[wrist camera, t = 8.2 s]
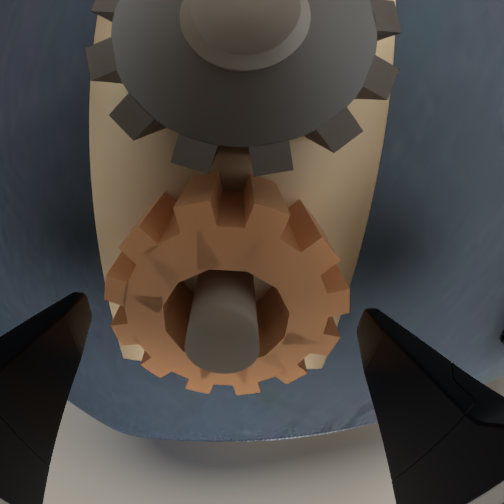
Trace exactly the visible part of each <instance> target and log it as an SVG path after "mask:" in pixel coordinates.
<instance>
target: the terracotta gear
mask: <svg viewBox="0 0 504 504" xmlns="http://www.w3.org/2000/svg"><path fill="white" fill-rule="evenodd" d="M119 249H120V250H121V251H122V252H121V253H120V255H119V256H118V258H117V259H116V261H115V262H114V264H113V265H112V267H111V268H110V270H109V272H108V273H107V275H106V281H105V293H104V300H106V301H109V302H112V303H115V304H118V305H120V306H119V308H118V310H117V312H116V314H115V317H114V319H113V321H112V323H111V325H110V326H111V328H112V329H113V331H114V333H115V335H116V336H117V338H118V340H119V342H120V343H121V345H122V346H125V345H138V344H139V345H140V346H141V347H142V348H143V349H144V350H145V351H144V354H143V358H142V361H141V366H143V367H144V368H146V369H147V370H149V371H150V372H152V373H153V374H155V375H156V376H158V377H159V378H161V377H163V376H165V375H166V374H168V373H170V372H174V373H176V374H179V375H181V376H183V377H186V378H187V380H186V388H185V389H189V390H193V391H197V392H202V393H207V394H209V393H210V391H211V389H212V387H213V385H214V384H215V385H233V387H234V390H235V393H236V395H244V394H252V393H260V392H261V391H260V381H263V380H266V379H269V378H273V377H277V378H278V379H280V380H281V381H283V382H284V383H285V384H288V383H290V382H292V381H294V380H296V379H297V378H299V377H301V376H303V375H305V374H307V369H306V365H305V360H304V358H305V357H306V356H307V355H309V354H310V353H313V354H318V355H324V356H328V355H329V353H330V352H331V350H332V349H333V348H334V346H335V345H336V343H337V342H338V341H339V339H340V338H341V337H340V334H339V332H338V329H337V326H336V324H335V321H334V319H333V316H337V315H342V314H346V313H349V308H350V288H349V286H348V284H347V283H346V281H345V279H344V277H343V275H342V273H341V271H340V269H339V268H338V266H337V263H338V262H339V261H340V259H339V257H338V256H337V254H336V252H335V251H334V249H333V247H332V245H331V244H330V242H329V240H328V239H327V237H326V235H325V234H324V232H323V230H322V229H321V227H320V226H319V224H318V222H317V221H316V219H315V218H314V216H313V215H312V214H311V212H310V211H309V210H308V209H307V207H306V206H305V205H304V204H303V202H302V201H301V200H299V201H297V202H296V203H295V204H293V205H292V206H291V207H289V208H287V206H286V204H285V201H284V199H283V197H282V195H281V193H280V190H279V188H278V186H277V184H276V182H273V181H270V180H268V179H265V178H262V177H259V176H256V177H254V175H253V174H250V175H249V178H248V180H247V183H246V186H245V188H244V191H243V192H237V191H223V190H222V186H221V181H220V176H219V172H213V173H209V174H204V175H199V176H195V177H191V179H190V181H189V182H188V184H187V185H186V187H185V189H184V190H183V192H182V194H181V195H180V197H179V199H178V200H177V202H176V201H175V200H174V199H173V198H172V197H171V196H170V195H169V194H168V193H167V192H166V191H165V192H164V193H163V194H162V195H161V196H160V197H159V198H158V199H157V200H156V201H155V202H154V203H153V204H152V205H151V206H150V207H149V208H148V209H147V210H146V212H145V213H144V214H143V215H142V217H141V218H140V219H139V221H138V222H137V223H136V225H135V226H134V227H133V229H132V230H131V231H130V233H129V234H128V235H127V237H126V238H125V240H124V241H123V242H122V244H121V245H120V246H119ZM209 269H211V270H228V271H247V272H249V273H250V274H252V275H254V276H256V277H258V278H259V279H261V280H263V281H265V282H266V283H268V284H270V285H272V287H271V288H270V289H269V290H268V291H267V292H266V293H265V295H264V296H263V297H262V298H261V299H260V300H258V301H256V312H257V324H258V335H259V347H260V351H259V355H258V358H257V359H256V361H255V362H254V363H253V364H252V365H251V366H249V367H248V368H246V369H244V370H242V371H239V372H235V373H228V374H220V373H213V372H209V371H206V370H203V369H201V368H199V367H198V366H196V365H195V364H194V363H192V362H191V361H190V359H189V358H188V356H187V355H186V352H185V340H186V334H187V329H188V323H189V318H190V313H191V307H192V302H193V297H194V296H193V295H192V294H191V292H190V291H189V289H188V288H187V287H186V285H185V284H184V282H183V281H184V280H186V279H188V278H191V277H193V276H195V275H198V274H200V273H202V272H204V271H207V270H209Z"/></svg>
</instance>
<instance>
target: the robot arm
mask: <svg viewBox="0 0 504 504" xmlns="http://www.w3.org/2000/svg"><path fill="white" fill-rule="evenodd" d="M91 319H92V314H91V310H90V306H89V302H88V298H87V296H86V294H84V293H79V292H74V293H72V294H70V295H68V296H67V297H65V298H63V299H62V300H60V301H58V302H56V303H55V304H53V305H51V306H50V307H48V308H46V309H45V310H43V311H41V312H40V313H38V314H36V315H35V316H33V317H31V318H30V319H28V320H27V321H25V322H23V323H22V324H20V325H18V326H17V327H15V328H14V329H12V330H10V331H9V332H7V333H6V334H4V335H3V336H1V337H0V504H43V498H44V492H45V487H46V481H47V476H48V472H49V465H50V462H51V457H52V453H53V449H54V444H55V441H56V437H57V433H58V429H59V426H60V422H61V419H62V415H63V412H64V408H65V405H66V402H67V399H68V396H69V392H70V389H71V386H72V383H73V380H74V377H75V375H76V372H77V369H78V366H79V363H80V360H81V357H82V353H83V350H84V346H85V342H86V338H87V334H88V330H89V327H90V323H91ZM357 337H358V342H359V347H360V352H361V358H362V363H363V369H364V373H365V377H366V381H367V384H368V387H369V391H370V394H371V398H372V402H373V405H374V409H375V413H376V416H377V420H378V424H379V428H380V432H381V436H382V440H383V444H384V448H385V452H386V456H387V461H388V465H389V470H390V474H391V479H392V484H393V489H394V494H395V499H396V504H504V397H503V396H501V395H500V394H498V393H496V392H495V391H493V390H492V389H490V388H489V387H487V386H485V385H484V384H482V383H481V382H479V381H478V380H476V379H475V378H473V377H471V376H470V375H469V374H467V373H466V372H464V371H463V370H462V369H460V368H459V367H457V366H456V365H455V364H453V363H451V361H449V360H448V359H447V358H445V357H444V356H442V355H441V354H440V353H438V352H437V351H436V350H434V349H433V348H431V347H430V346H429V345H427V344H426V343H425V342H423V341H422V340H420V339H419V338H418V337H416V336H415V335H413V334H412V333H411V332H409V331H408V330H406V329H405V328H404V327H402V326H401V325H399V324H398V323H397V322H395V321H394V320H392V319H391V318H390V317H388V316H387V315H385V314H384V313H382V312H381V311H380V310H378V309H376V308H367V309H365V310H364V312H363V314H362V317H361V319H360V322H359V325H358V328H357ZM500 341H501V342H502V343H503V344H504V334H503V336H502V338H501V340H500Z"/></svg>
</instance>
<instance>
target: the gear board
mask: <svg viewBox="0 0 504 504" xmlns="http://www.w3.org/2000/svg"><path fill="white" fill-rule="evenodd" d="M91 12H93V13H95V14H97V15H98V16H97V23H96V30H95V37H94V44H93V45H91V46H89V47H87V48H85V49H86V55H87V62H88V67H89V73H90V79H91V80H90V102H89V146H90V169H91V184H92V196H93V206H94V216H95V224H96V232H97V239H98V246H99V252H100V258H101V264H102V270H103V275H104V280H105V281H106V275H107V273H108V272H109V270H110V268H111V267H112V265H113V264H114V262H115V261H116V259H117V258H118V256H119V255H120V253H121V252H122V251H121V250H120V249H119V246H120V245H121V244H122V242H123V241H124V240H125V238H126V237H127V235H128V234H129V233H130V231H131V230H132V229H133V227H134V226H135V225H136V223H137V222H138V221H139V219H140V218H141V217H142V215H143V214H144V213H145V212H146V210H147V209H148V208H149V207H150V206H151V205H152V204H153V203H154V202H155V201H156V200H157V199H158V198H159V197H160V196H161V195H162V194H163V193H164V192H165V191H166V192H167V193H168V194H169V195H170V196H171V197H172V198H173V199H174V200H175V201H176V202H177V200H178V199H179V197H180V195H181V194H182V192H183V190H184V189H185V187H186V185H187V184H188V182H189V181H190V179H191V177H195V176H199V175H204V174H209V173H213V172H219V176H220V181H221V186H222V190H223V191H237V192H243V191H244V188H245V186H246V183H247V180H248V178H249V175H250V174H253V175H254V177H256V176H259V177H262V178H265V179H268V180H270V181H273V182H276V184H277V186H278V188H279V190H280V193H281V195H282V197H283V199H284V201H285V204H286V206H287V208H289V207H291V206H292V205H293V204H295V203H296V202H297V201H299V200H301V201H302V202H303V204H304V205H305V206H306V207H307V209H308V210H309V211H310V212H311V214H312V215H313V216H314V218H315V219H316V221H317V222H318V224H319V226H320V227H321V229H322V230H323V232H324V234H325V235H326V237H327V239H328V240H329V242H330V244H331V245H332V247H333V249H334V251H335V252H336V254H337V256H338V257H339V259H340V261H339V262H338V263H337V266H338V268H339V269H340V271H341V273H342V275H343V277H344V279H345V281H346V283H347V284H348V286H349V288H350V284H351V281H352V278H353V274H354V271H355V267H356V263H357V260H358V256H359V252H360V249H361V245H362V241H363V237H364V233H365V229H366V225H367V221H368V216H369V212H370V208H371V203H372V198H373V194H374V189H375V184H376V179H377V174H378V169H379V164H380V158H381V152H382V147H383V141H384V134H385V128H386V121H387V114H388V106H389V98H390V93H391V90H392V87H393V85H394V82H395V80H396V77H397V74H398V72H399V69H398V68H396V67H395V66H393V57H394V42H395V35H396V34H399V33H402V32H401V27H400V23H399V18H398V14H397V10H396V0H95V2H94V4H93V7H92V9H91ZM183 282H184V284H185V285H186V287H187V288H188V289H189V291H190V292H191V294H192V295H193V296H194V297H193V302H192V307H191V313H190V318H189V323H188V329H187V334H186V340H185V352H186V355H187V356H188V358H189V359H190V361H191V362H192V363H194V364H195V365H196V366H198V367H199V368H201V369H203V370H206V371H209V372H213V373H220V374H228V373H235V372H239V371H242V370H244V369H246V368H248V367H249V366H251V365H252V364H253V363H254V362H255V361H256V359H257V358H258V355H259V351H260V347H259V335H258V324H257V312H256V301H258V300H260V299H261V298H262V297H263V296H264V295H265V293H266V292H267V291H268V290H269V289H270V288H271V287H272V285H270V284H268V283H266V282H265V281H263V280H261V279H259V278H258V277H256V276H254V275H252V274H250V273H249V272H247V271H228V270H211V269H209V270H207V271H204V272H202V273H200V274H198V275H195V276H193V277H191V278H188V279H186V280H184V281H183ZM109 304H110V309H111V313H112V317H113V319H114V317H115V314H116V312H117V310H118V308H119V306H120V305H118V304H115V303H112V302H109ZM340 316H341V315H337V316H333V319H334V321H335V324H336V326H338V323H339V320H340ZM118 341H119V340H118ZM119 344H120V348H121V352H122V355H123V358H125V359H132V360H139V361H142V358H143V354H144V351H145V350H144V349H143V348H142V347H141V346H140V345H139V344H138V345H125V346H122V345H121V343H120V342H119ZM326 357H327V356H324V355H318V354H313V353H310V354H309V355H307V356H306V357H305V358H304V360H305V365H306V369H320V368H323V365H324V362H325V360H326Z"/></svg>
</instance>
